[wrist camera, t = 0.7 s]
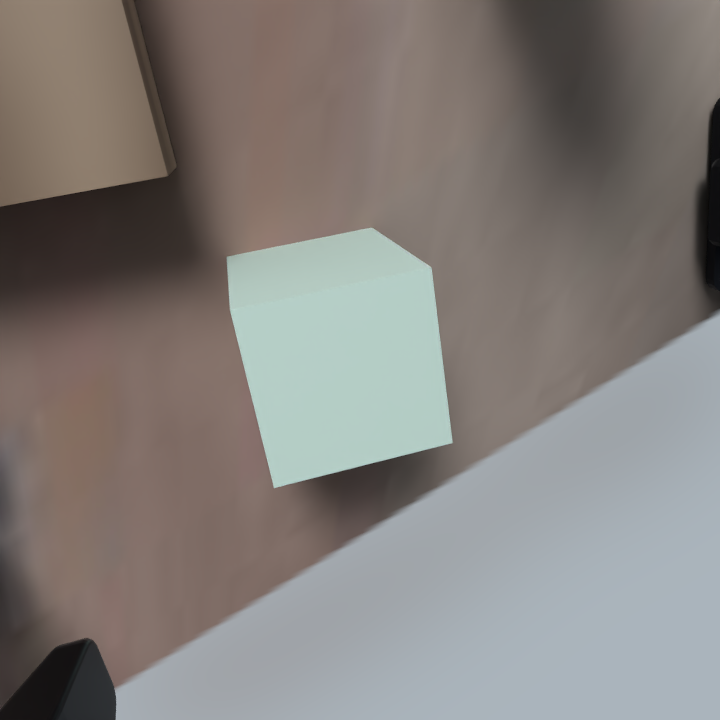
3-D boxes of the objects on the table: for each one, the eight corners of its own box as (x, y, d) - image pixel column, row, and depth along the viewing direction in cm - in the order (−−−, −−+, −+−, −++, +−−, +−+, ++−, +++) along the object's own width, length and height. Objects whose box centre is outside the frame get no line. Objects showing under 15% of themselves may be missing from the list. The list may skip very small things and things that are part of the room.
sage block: (371, 227, 20) (431, 267, 14) (391, 360, 21) (452, 442, 16) (226, 256, 19) (229, 310, 14) (259, 391, 21) (274, 488, 15)
